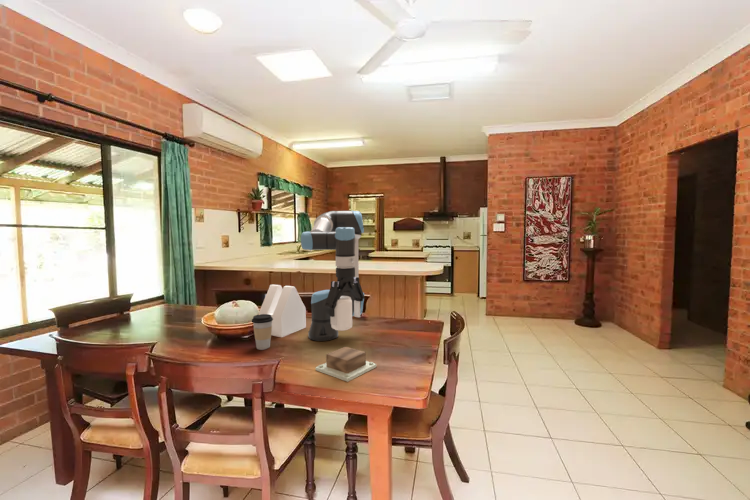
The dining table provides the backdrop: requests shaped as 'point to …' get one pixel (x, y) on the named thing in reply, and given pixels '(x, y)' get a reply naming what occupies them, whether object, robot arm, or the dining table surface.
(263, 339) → the coffee cup
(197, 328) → the dining table surface
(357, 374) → the baseplate
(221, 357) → the dining table surface
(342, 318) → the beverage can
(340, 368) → the walnut brick
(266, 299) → the white notched block
